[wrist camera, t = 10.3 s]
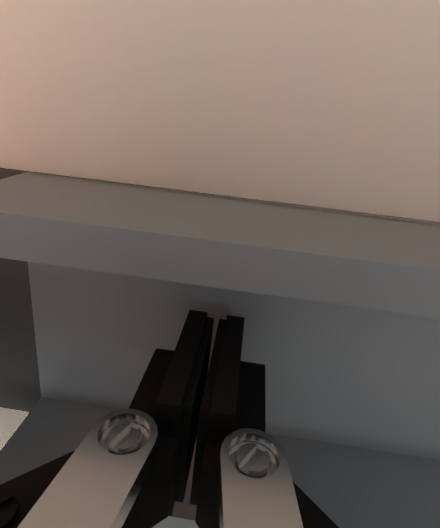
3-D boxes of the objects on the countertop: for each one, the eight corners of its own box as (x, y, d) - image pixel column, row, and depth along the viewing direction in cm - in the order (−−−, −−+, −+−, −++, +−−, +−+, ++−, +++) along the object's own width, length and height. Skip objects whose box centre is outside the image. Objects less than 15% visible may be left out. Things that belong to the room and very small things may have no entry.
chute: (661, 249, 10) (877, 327, 7) (524, 484, 14) (617, 617, 10) (28, 171, 11) (-82, 201, 8) (50, 408, 15) (-19, 506, 11)
